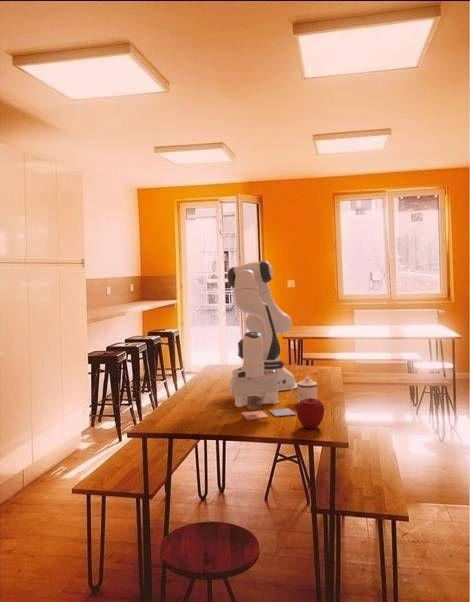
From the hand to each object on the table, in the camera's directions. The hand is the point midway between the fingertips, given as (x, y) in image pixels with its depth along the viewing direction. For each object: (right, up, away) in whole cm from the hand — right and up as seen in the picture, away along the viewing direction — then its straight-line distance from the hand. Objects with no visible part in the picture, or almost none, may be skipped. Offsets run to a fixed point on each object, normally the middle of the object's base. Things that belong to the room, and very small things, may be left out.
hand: (254, 404), depth 215 cm
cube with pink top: (0, -2, 0) cm, 2 cm away
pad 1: (0, -5, 0) cm, 5 cm away
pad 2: (+12, -5, +3) cm, 13 cm away
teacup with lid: (+24, -4, +19) cm, 31 cm away
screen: (+2, -4, +19) cm, 20 cm away
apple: (+21, -6, -17) cm, 28 cm away
